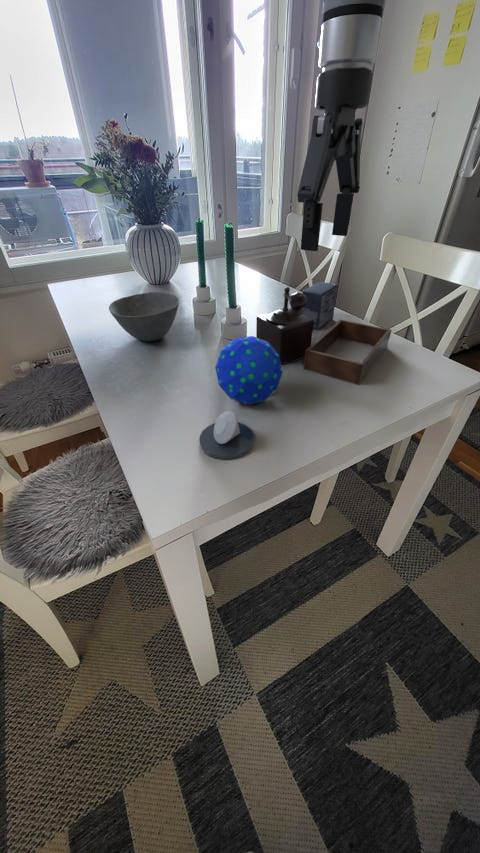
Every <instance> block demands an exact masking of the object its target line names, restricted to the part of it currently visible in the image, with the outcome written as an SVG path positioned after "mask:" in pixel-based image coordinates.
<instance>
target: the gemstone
mask: <svg viewBox="0 0 480 853" xmlns="http://www.w3.org/2000/svg"><path fill="white" fill-rule="evenodd" d="M237 418H238V417H237V415H236V413H234V411H232V410H226V411H224V412H222V413H221V414H220V415H219V416H218V418H217V419H216V420H215V422H214V423H215V426H214V438H215V440H216V441H217V442H218V443H219V444H224V443H227V442H228V441H230V440H231V439H232V438H234V437H235V436H237V435H238V434H240V429H239V425H238V422H239V421H238V419H237Z"/></svg>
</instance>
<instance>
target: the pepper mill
mask: <svg viewBox="0 0 480 853" xmlns="http://www.w3.org/2000/svg"><path fill="white" fill-rule="evenodd" d="M290 291H291V289H290V287H289V286H285V287H284V293H283V295H282V296H283V298H284V300H283V301H284V302H283V307H282V308H278V309H276V310H274V311H271V312H266V313H263V314H259V315H257V316H256V327H255V329H256V334H255V337H256V338H259V339H261V340H264V341H267V342H269V344H270V345H271V346H272V347H273V348H274V350H275V351H276V352H277V353H278V355H279V357H280V362H281V365H284V364H288V363H292V362H295V361H297V360H301V359H303V358H305V350H306V349H307V348H309V347H310V346H311V345H312V340H313V333H314V332H313V331H314V329H313V325H314V320H313V319H311V318H309V317H307V316H305V315H302V313H303V307H304V306H305V305H306V303H307V298H306V296H305V295H304V294H303V292H293V293H290ZM289 306H290V308H289Z"/></svg>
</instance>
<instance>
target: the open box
mask: <svg viewBox="0 0 480 853" xmlns="http://www.w3.org/2000/svg"><path fill="white" fill-rule="evenodd" d="M391 334H392V329H390V328H385V327H380V326H375V325H370V324H365V323H361V322H356V321H352V320H351V321H350V320H345V319H339V320H338V321H337V322H335V324H333V325H332V326H331V327H330V328H329V329H327V331H326V332H324V333H323V334H321V336H320V337H319V338H317V339H316V340H315V341H313V343H311V346H310V347H309V348H307V349H306V350H305V357H304V362H303V370H305V371H307V372H308V371H309V372H313V373H315V374H319V375H323V376H325V377H329V378H332V379H333V378H334V379H337V380H339V381H344V382H347V383H350V384H354V385H358V386H359V385H360V384H361V383H362V381H363V380H364V379H365V377H366V376H367V375H368V373H369V372H370V371H371V369H372V368H373V367H374V366H375V364H376V363H377V361H378V360H380V358H381V357H382V355H383V353H384V352H385V351H386V350H387V349H388V345H389V341H390V338H391ZM339 339H341V340H346V341H350V342H353V343H357V344H363V345H367V346H371V347H373V348H371V350H370V351H369V352H368V353H367V355H366V356H365V357H364V358H363V360H362V361H361V362H360V361H355V360H352V359H348V358H344V357H340V356H336V355H333V354H329V353H326V352H327V350H329V349H330V348H331V347H332V346H333V345H334V344H335V343H336V342H337V341H339Z"/></svg>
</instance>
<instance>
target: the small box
mask: <svg viewBox="0 0 480 853" xmlns="http://www.w3.org/2000/svg"><path fill="white" fill-rule="evenodd" d="M337 291H338V283H332V282H323V281H317V282H316V283H314V284H313V285H311V286H309V287H307V288H305V289H304V290H302V294H304V295H305V296H306V298H307V303H306V305H305V306H304V307H303V313H302V315H305V316H307V317H309V318H311V319H313V320H314V325H313V330H316V331H319V330H321V329H322V328H323V327H325V326H326V325H327V324H328V323H330V322H332V320H334V314H335V305H336V299H337Z"/></svg>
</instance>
